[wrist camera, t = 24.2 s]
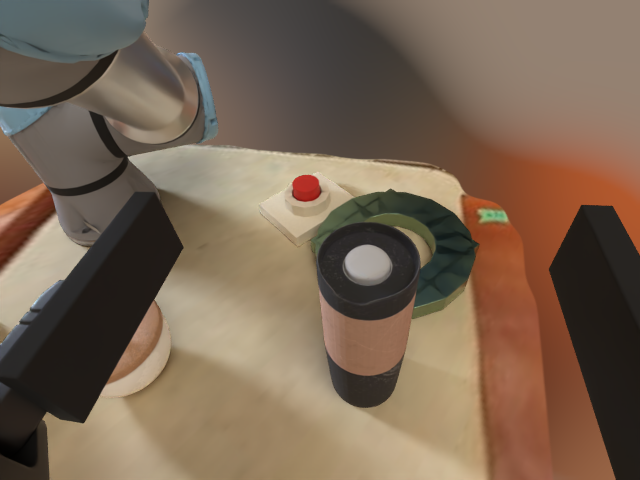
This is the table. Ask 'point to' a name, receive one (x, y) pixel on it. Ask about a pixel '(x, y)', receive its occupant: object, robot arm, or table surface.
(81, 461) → the table surface
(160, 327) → the trinket box
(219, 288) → the table surface
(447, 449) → the table surface
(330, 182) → the switch box
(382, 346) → the travel mug
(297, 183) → the switch button
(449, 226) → the ring
